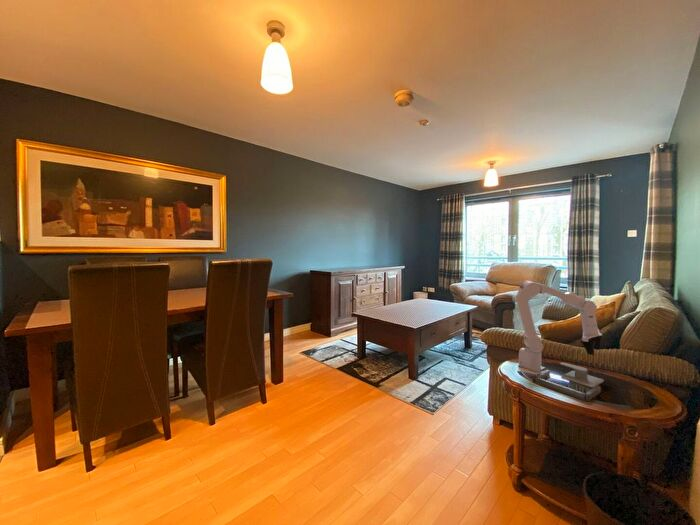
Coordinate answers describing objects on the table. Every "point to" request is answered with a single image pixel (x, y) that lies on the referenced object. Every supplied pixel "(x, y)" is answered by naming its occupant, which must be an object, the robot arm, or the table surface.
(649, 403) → the table surface
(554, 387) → the mounting bracket
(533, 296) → the robot arm
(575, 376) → the shower valve
